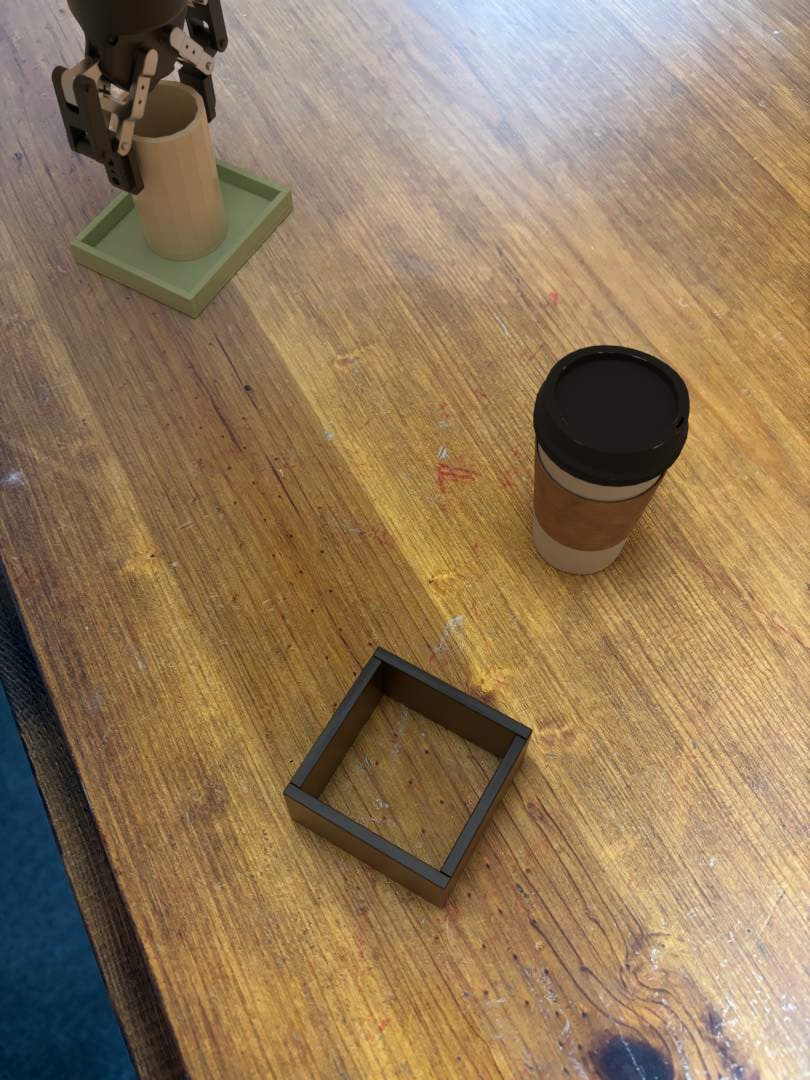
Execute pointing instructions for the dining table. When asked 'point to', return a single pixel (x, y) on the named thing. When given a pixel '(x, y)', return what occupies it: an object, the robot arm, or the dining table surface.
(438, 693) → the open square frame
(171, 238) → the cup
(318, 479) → the dining table surface
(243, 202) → the tray
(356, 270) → the dining table surface
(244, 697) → the dining table surface
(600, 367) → the coffee cup
